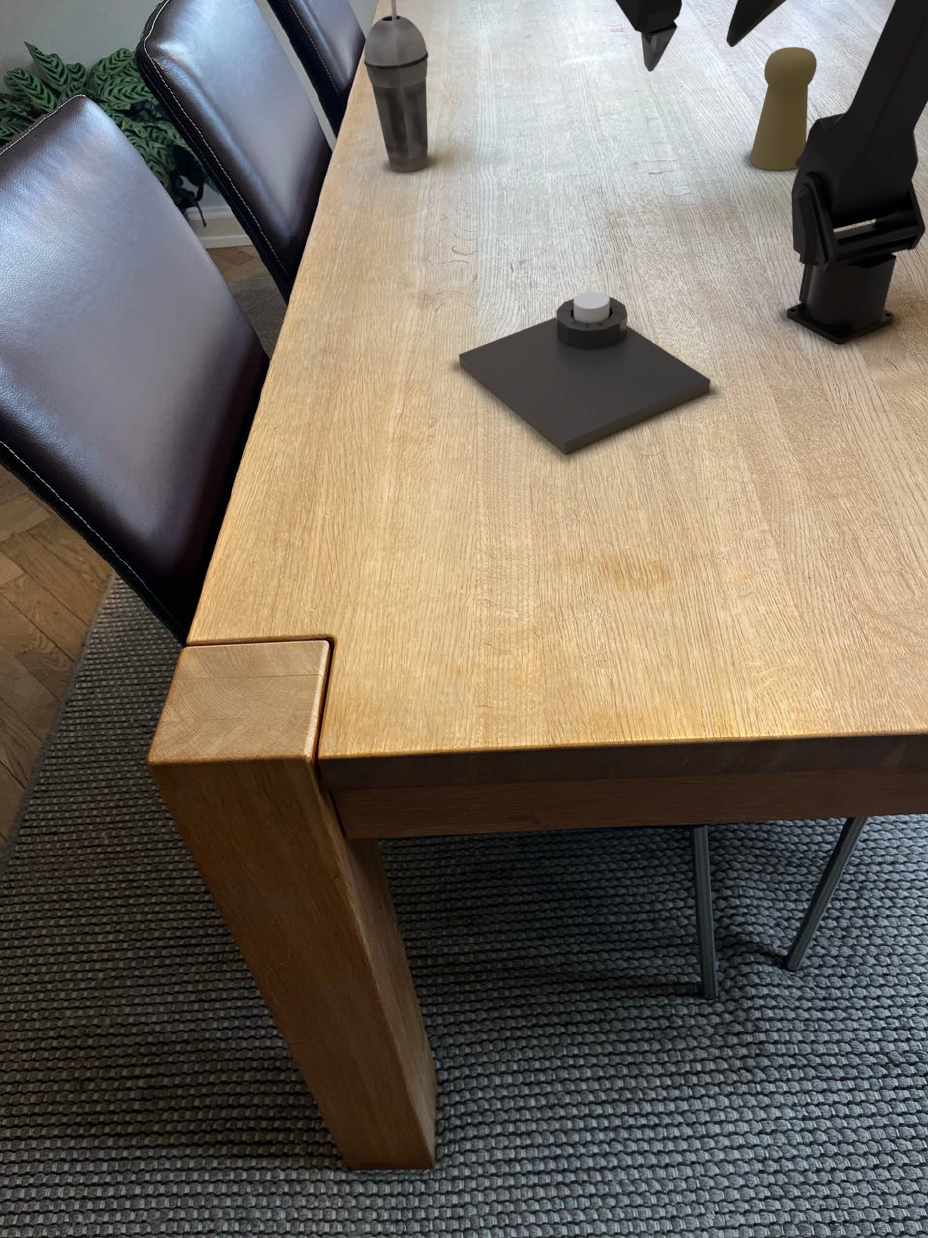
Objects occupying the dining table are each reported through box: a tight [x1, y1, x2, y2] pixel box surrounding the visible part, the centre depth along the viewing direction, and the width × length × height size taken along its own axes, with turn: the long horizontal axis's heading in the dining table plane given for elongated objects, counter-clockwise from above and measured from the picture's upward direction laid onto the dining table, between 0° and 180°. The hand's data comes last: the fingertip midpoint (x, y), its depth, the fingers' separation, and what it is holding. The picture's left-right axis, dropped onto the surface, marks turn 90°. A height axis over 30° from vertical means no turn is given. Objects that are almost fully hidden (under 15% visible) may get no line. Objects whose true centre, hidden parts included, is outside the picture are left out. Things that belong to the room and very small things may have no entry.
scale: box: [458, 296, 711, 456], centre depth 80 cm, size 16×14×3 cm
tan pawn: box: [749, 46, 818, 171], centre depth 104 cm, size 6×6×11 cm
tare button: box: [573, 290, 610, 323], centre depth 82 cm, size 3×3×2 cm
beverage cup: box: [363, 0, 429, 173], centre depth 109 cm, size 7×7×20 cm
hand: (689, 55), depth 94 cm, fingers open, 9 cm apart
